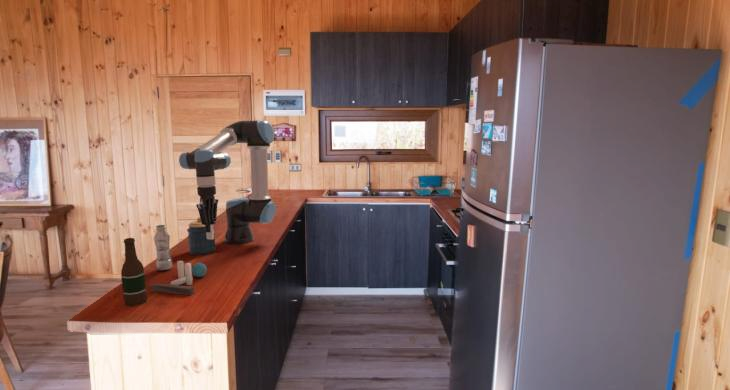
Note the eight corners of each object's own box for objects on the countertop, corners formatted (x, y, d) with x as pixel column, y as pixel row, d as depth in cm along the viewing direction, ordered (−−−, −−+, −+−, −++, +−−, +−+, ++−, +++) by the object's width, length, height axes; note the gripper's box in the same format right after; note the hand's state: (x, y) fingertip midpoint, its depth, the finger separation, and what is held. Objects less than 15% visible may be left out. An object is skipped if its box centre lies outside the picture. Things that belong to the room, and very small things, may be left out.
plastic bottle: (155, 272, 193) (151, 228, 190) (158, 267, 200) (154, 224, 196) (171, 271, 195) (167, 227, 192) (173, 266, 201) (169, 223, 198)
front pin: (188, 276, 184) (169, 282, 177) (191, 274, 183) (172, 280, 176) (191, 281, 184) (172, 288, 177) (193, 279, 182) (174, 285, 176)
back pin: (181, 280, 184) (179, 260, 183) (186, 280, 183) (184, 260, 182) (177, 282, 182) (175, 262, 180) (182, 282, 181) (180, 262, 180)
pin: (188, 282, 181) (186, 262, 179) (193, 283, 180) (192, 263, 179) (184, 284, 179) (183, 264, 177) (190, 285, 178) (188, 265, 177)
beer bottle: (151, 297, 166) (145, 235, 162) (141, 306, 159) (134, 241, 155) (130, 298, 166) (123, 236, 162) (119, 306, 158) (112, 242, 154)
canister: (207, 255, 216) (204, 220, 213) (183, 254, 219) (180, 219, 216) (220, 248, 229) (218, 214, 226) (198, 247, 232) (195, 214, 229)
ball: (186, 273, 184) (194, 278, 189) (199, 274, 182) (206, 279, 187) (191, 260, 187) (198, 265, 192) (204, 261, 185) (211, 266, 190)
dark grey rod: (154, 289, 174) (153, 283, 174) (194, 293, 170) (193, 286, 169) (150, 291, 172) (150, 285, 172) (191, 295, 168) (190, 288, 168)
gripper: (207, 183, 198) (211, 234, 202) (189, 188, 185) (193, 242, 189) (222, 183, 196) (226, 235, 200) (204, 188, 183) (209, 243, 187)
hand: (210, 238), depth 194 cm, fingers closed
